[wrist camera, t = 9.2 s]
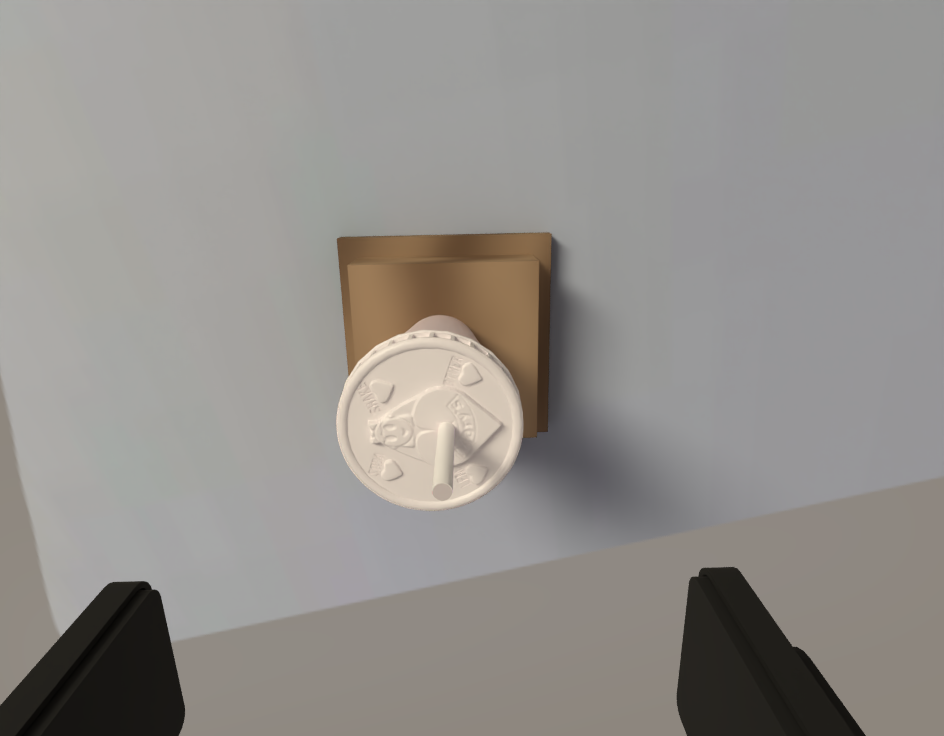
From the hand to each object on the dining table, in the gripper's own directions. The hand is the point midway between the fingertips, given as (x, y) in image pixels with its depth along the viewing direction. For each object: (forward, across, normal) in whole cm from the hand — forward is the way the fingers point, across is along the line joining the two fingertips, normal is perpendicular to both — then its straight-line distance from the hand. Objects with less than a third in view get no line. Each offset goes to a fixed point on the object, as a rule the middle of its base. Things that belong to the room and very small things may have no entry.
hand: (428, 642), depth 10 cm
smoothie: (+20, +1, 0) cm, 20 cm away
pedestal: (+23, 0, 0) cm, 23 cm away
